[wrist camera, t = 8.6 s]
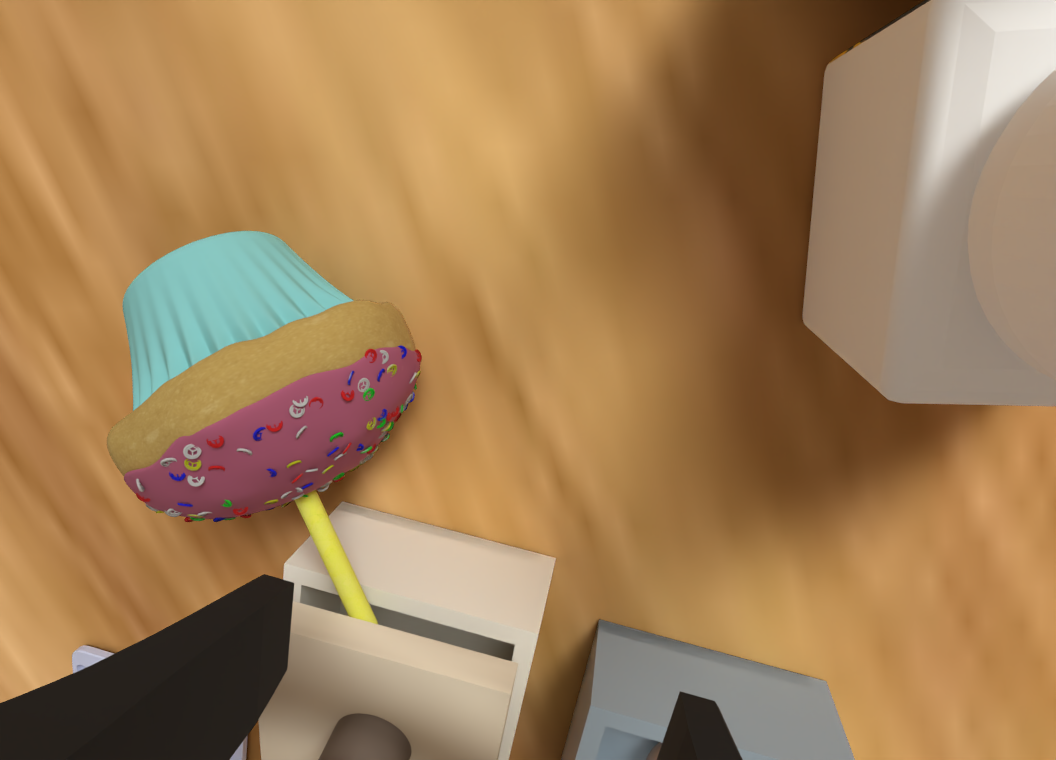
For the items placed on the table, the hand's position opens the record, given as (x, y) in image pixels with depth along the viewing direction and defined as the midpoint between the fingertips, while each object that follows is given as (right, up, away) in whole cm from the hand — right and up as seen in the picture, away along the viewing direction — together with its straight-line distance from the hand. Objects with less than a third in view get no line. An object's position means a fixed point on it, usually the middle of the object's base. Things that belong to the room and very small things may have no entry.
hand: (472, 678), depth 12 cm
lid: (-3, -5, +8) cm, 10 cm away
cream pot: (-3, -4, +13) cm, 13 cm away
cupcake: (-8, +9, +7) cm, 14 cm away
